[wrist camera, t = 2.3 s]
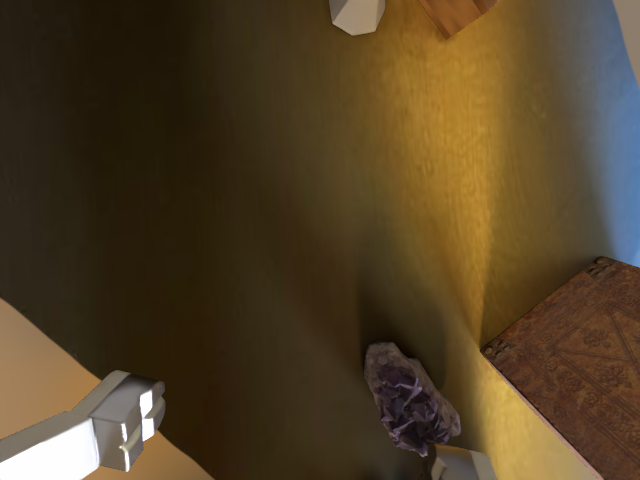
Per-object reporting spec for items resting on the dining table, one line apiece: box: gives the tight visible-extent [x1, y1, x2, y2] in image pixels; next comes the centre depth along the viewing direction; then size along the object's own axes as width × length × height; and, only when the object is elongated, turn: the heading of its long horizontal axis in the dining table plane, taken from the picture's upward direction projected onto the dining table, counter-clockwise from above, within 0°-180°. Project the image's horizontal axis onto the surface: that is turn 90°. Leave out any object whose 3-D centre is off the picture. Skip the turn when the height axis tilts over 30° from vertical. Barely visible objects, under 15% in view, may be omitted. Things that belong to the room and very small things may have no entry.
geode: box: [364, 341, 460, 457], centre depth 51 cm, size 20×12×10 cm, turn 35°
